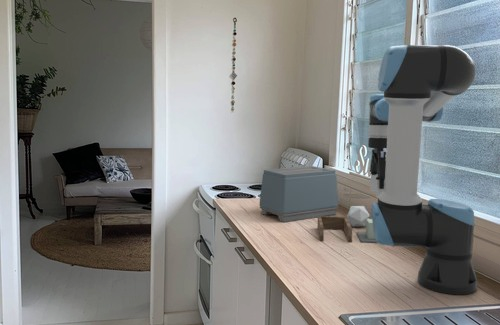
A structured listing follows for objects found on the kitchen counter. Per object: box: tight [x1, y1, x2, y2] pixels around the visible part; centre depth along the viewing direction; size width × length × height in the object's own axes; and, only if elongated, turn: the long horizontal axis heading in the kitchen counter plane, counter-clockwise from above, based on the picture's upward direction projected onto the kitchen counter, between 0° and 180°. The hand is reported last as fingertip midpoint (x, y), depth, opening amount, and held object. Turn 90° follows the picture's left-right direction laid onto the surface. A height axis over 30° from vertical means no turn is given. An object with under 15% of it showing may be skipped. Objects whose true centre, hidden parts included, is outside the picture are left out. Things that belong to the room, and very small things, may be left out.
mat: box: [356, 231, 379, 244], centre depth 174 cm, size 12×12×1 cm
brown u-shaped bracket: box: [317, 215, 353, 243], centre depth 178 cm, size 18×11×5 cm, turn 175°
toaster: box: [259, 165, 339, 223], centre depth 211 cm, size 19×35×20 cm, turn 121°
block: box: [365, 218, 376, 239], centre depth 174 cm, size 6×6×6 cm
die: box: [346, 205, 371, 228], centre depth 192 cm, size 8×9×10 cm
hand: (377, 194), depth 172 cm, fingers open, 13 cm apart
